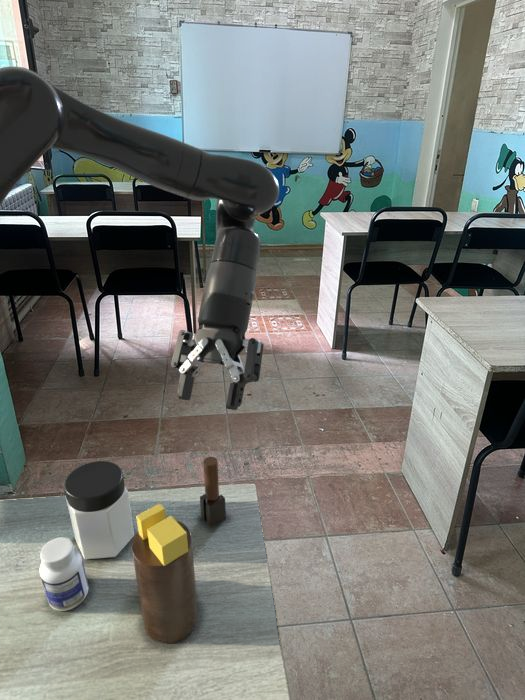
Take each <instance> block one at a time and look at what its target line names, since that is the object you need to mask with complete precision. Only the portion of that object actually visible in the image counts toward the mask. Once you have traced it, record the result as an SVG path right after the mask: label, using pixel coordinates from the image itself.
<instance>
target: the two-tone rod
mask: <svg viewBox="0 0 525 700" xmlns="http://www.w3.org/2000/svg"><path fill="white" fill-rule="evenodd" d="M202 463H203V477H204V478H203V480H204V481H203V483H204V494H205V497H206V503H207V502H209V501H212V500H216V499H217V498H218V497H219V496H220V483H219V482H220V481H219V460H218V459H217V457H216V456H207V457H205V458H204V459H203V462H202ZM206 515H207V507H206Z"/></svg>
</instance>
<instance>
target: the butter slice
mask: <svg viewBox="0 0 525 700" xmlns="http://www.w3.org/2000/svg"><path fill="white" fill-rule="evenodd" d="M135 517H136V523H137V530H138V531H139V535H140V536H141V537H142V539H143V540H145V539H146V538H148V533H147V529H148V528H150V527H152V526H153V525H155V524H157V523H159V522H161V521H162V520H164V519H166V518H167V516H166V508H165V507H164V506H163V505H162V503H158V504H156V505H154V506H152V507H150V508H149V509H146V510H145V511H143V512H141V513H139V514H138V515H136V516H135ZM138 531H137V532H138Z"/></svg>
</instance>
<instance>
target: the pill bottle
mask: <svg viewBox="0 0 525 700" xmlns="http://www.w3.org/2000/svg"><path fill="white" fill-rule="evenodd" d="M39 555H40V556H39V557H40V561H41V563H40V565H39V570H38V571H39V576H40V580H41V583H42V587H43V589H44V592H45V596H46V599H47V602H48V604H49V606H50V607H51V608H52V609H53V610H54V611H59V612H67V611H70V610H73V609H75V608H76V607H78V606H79V605H80V604H82V602H83V601H84V600H85V599H86V597H87V595H88V592H89V581H88V577H87V573H86V570H85V565H84V561H83V556H82V553H81V552H80V551H79V550H78V549H76V548H75V547H74V544H73V541H72V540H71V539H69V538H67V537H61V536H60V537H55V538H53V539H51V540H49V541H48V542H46V543H45V544H44V545H43V547H42V548H41V550H40V553H39Z"/></svg>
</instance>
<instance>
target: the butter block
mask: <svg viewBox="0 0 525 700" xmlns="http://www.w3.org/2000/svg"><path fill="white" fill-rule="evenodd" d="M176 520H177V519H175V518H174V517H173V516H172V515H169V516H168V517H166V519H164V520H162V521H161V522H159V523H157V524H155V525H153V526H152V527H150V528H148V529H147V533H148V540H149V547H150V549H151V550H152V551H153V553H154V554H155V555H156V556H157V558H158V559H159V560H160V561H161V563H162V564H163V565H164V566H166V565H167V564H169V563H170V562H172V561H174V560H175V559H177V558H178V557H180V556H181V555H183V554H185V553H186V552H188V542H187V533H186V531H185V530H184V529H183V528H182V527H181V526H180V525H179V524H178V523H177V521H178V520H177V521H176Z"/></svg>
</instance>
